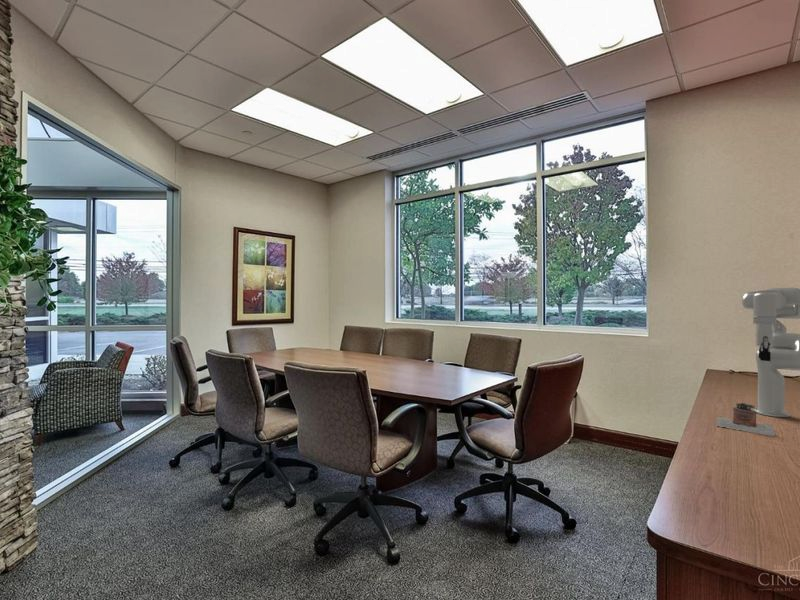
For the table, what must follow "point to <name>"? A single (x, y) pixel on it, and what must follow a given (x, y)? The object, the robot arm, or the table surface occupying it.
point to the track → (746, 427)
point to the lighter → (744, 415)
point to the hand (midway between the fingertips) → (764, 359)
